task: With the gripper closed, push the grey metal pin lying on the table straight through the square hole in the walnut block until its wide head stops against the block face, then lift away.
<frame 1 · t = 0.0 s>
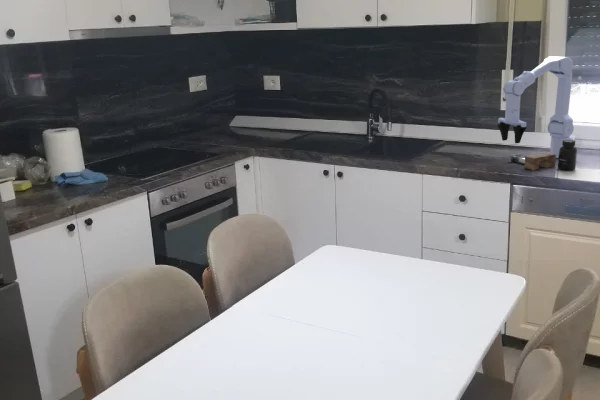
hand: (511, 141, 265), 10 cm above the table, tool pointing down, fingers open, 7 cm apart
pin: (522, 163, 269), on the table
supplement bottle: (566, 169, 256), on the table
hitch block: (538, 167, 261), on the table
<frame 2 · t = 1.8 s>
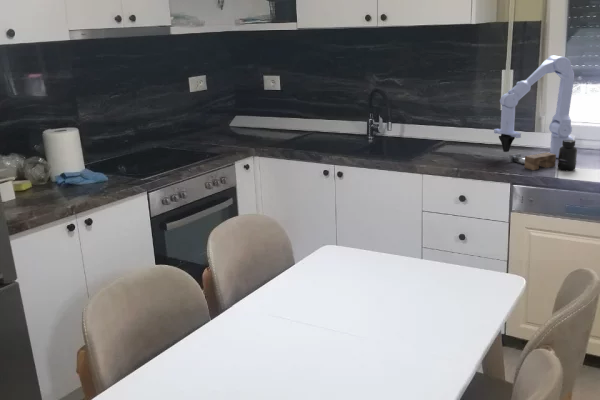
hand: (506, 151, 277), 3 cm above the table, tool pointing down, fingers closed
nothing on the table moved.
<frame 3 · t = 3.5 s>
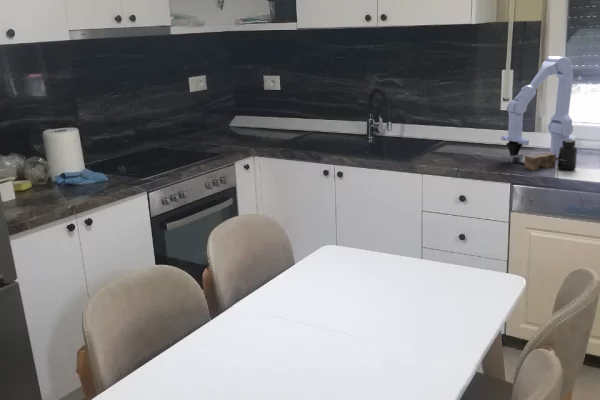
hand: (513, 158, 273), 1 cm above the table, tool pointing down, fingers closed
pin: (524, 163, 268), on the table, touching gripper
everything else where it was.
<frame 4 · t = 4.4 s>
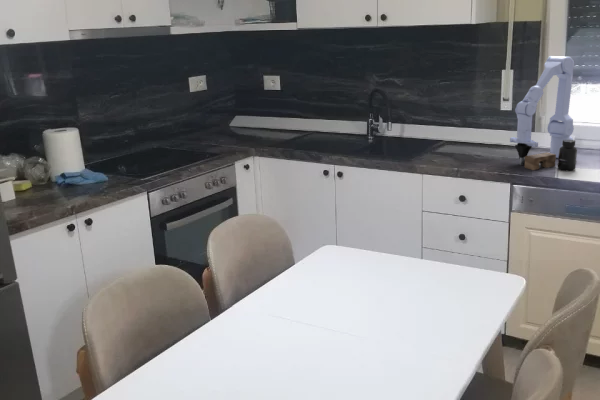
hand: (522, 161, 269), 1 cm above the table, tool pointing down, fingers closed
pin: (533, 166, 263), on the table, touching gripper
everything else where it was.
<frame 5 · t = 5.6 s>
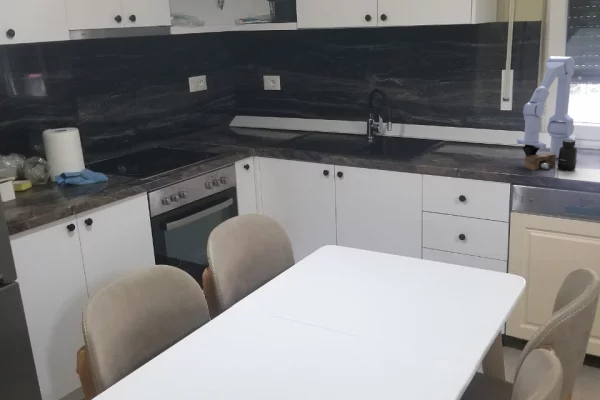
hand: (530, 162, 265), 1 cm above the table, tool pointing down, fingers closed
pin: (540, 167, 260), on the table, touching gripper, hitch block
everything else where it was.
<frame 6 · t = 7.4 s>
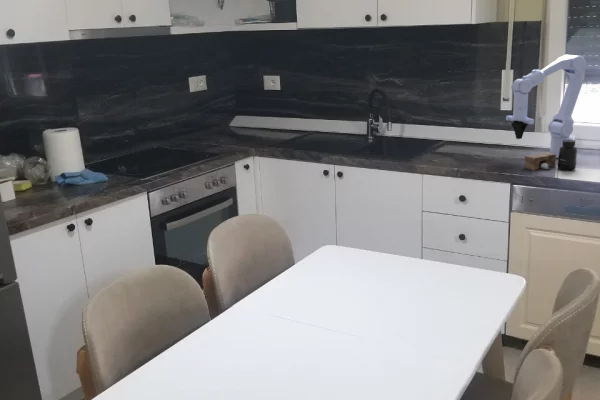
hand: (518, 138, 271), 10 cm above the table, tool pointing down, fingers closed
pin: (540, 168, 260), on the table
everything else where it was.
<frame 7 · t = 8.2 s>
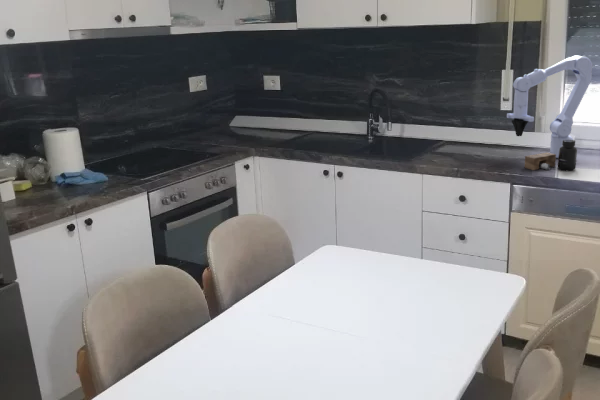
hand: (519, 135, 276), 10 cm above the table, tool pointing down, fingers closed
nothing on the table moved.
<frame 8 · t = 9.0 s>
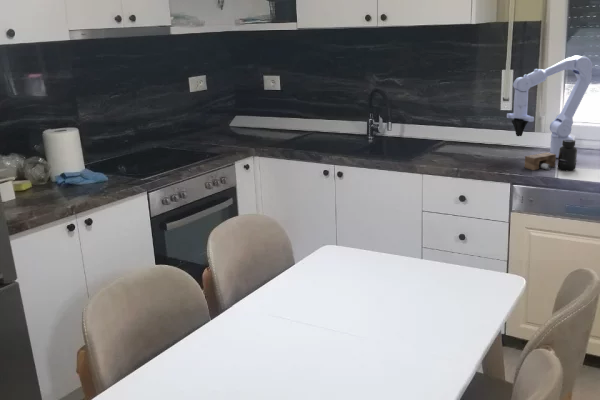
hand: (519, 135, 276), 10 cm above the table, tool pointing down, fingers closed
nothing on the table moved.
at the end: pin 0.2 cm from the target spot, on the table; the gripper is holding nothing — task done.
